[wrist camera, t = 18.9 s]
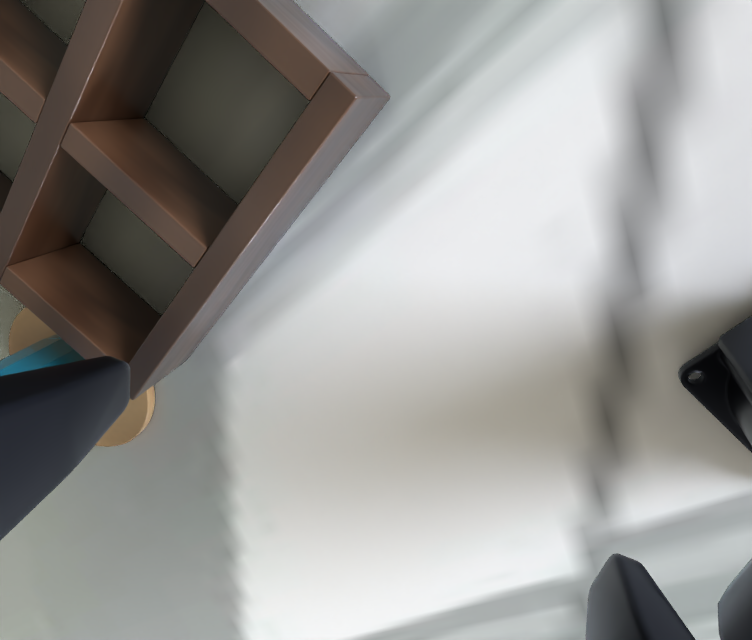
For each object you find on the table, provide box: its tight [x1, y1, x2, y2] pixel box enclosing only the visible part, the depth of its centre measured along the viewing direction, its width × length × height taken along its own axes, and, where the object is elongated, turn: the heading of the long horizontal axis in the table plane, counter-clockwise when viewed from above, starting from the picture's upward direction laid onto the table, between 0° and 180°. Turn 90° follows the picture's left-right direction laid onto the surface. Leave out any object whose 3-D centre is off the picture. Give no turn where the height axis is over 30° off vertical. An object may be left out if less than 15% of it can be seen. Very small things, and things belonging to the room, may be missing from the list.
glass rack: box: [0, 0, 390, 400], centre depth 20 cm, size 16×16×4 cm
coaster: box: [9, 307, 155, 447], centre depth 29 cm, size 9×9×1 cm
